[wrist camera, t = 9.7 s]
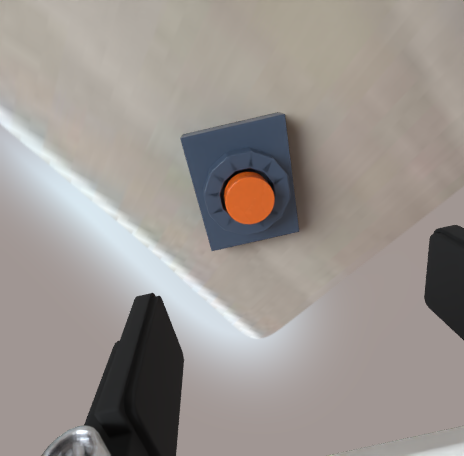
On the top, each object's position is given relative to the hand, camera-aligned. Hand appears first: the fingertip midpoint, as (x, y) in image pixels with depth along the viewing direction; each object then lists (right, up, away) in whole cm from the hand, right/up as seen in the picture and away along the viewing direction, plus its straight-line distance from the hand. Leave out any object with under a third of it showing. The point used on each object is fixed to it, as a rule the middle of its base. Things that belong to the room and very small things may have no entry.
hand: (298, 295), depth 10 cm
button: (-1, +5, +12) cm, 13 cm away
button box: (-1, +6, +16) cm, 17 cm away
